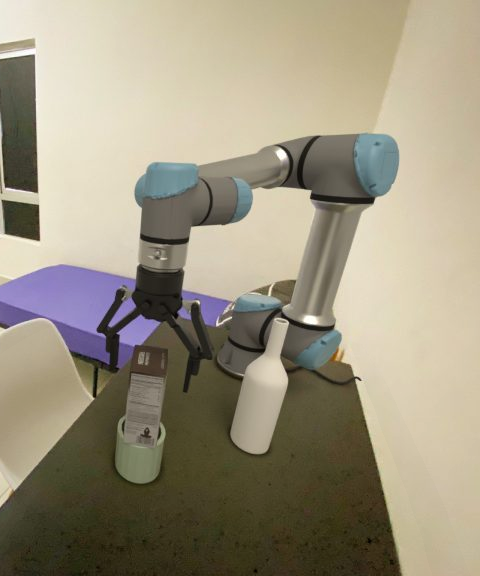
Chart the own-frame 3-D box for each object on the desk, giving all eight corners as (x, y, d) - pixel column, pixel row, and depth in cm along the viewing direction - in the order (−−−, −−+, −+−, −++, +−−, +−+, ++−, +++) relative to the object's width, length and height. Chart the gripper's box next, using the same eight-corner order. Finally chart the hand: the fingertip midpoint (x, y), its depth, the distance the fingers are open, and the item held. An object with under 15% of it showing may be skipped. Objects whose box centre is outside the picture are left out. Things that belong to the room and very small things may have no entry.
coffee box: (127, 409, 69) (134, 342, 64) (158, 415, 68) (168, 347, 62) (122, 443, 61) (129, 369, 55) (157, 450, 60) (168, 375, 54)
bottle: (261, 461, 70) (299, 335, 59) (223, 439, 75) (252, 319, 64) (273, 440, 75) (310, 321, 64) (238, 421, 80) (266, 308, 69)
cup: (164, 454, 70) (169, 420, 67) (153, 491, 62) (159, 454, 59) (123, 439, 73) (126, 406, 70) (108, 472, 65) (110, 437, 62)
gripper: (79, 260, 54) (77, 369, 62) (245, 287, 45) (218, 411, 53) (98, 250, 61) (94, 350, 68) (245, 271, 51) (222, 385, 59)
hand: (148, 377), depth 60 cm, fingers open, 13 cm apart
